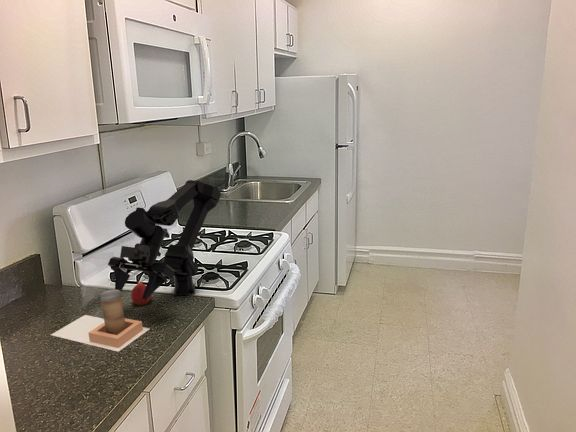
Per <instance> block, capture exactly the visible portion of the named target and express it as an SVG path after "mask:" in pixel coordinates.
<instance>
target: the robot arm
mask: <svg viewBox="0 0 576 432" xmlns="http://www.w3.org/2000/svg"><path fill="white" fill-rule="evenodd" d="M221 195H222V194H221V190H220V189H219V188H218V186H216V185H211V184H208V183H205V182H203V181H202V180H196V179H194V180H193V179H189V180H186V181H185V184H183V186H181V187H180V188H179V189H178V190H177V191H175V192H174V193H173V194H172V195H171V196H170V197H169V198H168V199H165V200H162V201H159V202H157V203H155V204H152V205H151V206H150V207H149V209H148V210H146V209H145V208H144V207H136V209H135V210H134V211H132V212H130V213H129V214H128V215H127V216H126V218H125V219H124V226H125V227H126V228H127V229H128V230H129V231H131V232H132V233H133V234H134V235H135V236H137V237H138V238H140V242H139V243H136V244H135V245H134V246H124V245H121V248H120V255H119V257H118V256H112V257H110V258H109V260H108V263H107V266H109V268H110V269H111V270H112V271H113V273H114V287H115V288H114V289H116V290H120V291H121V292H122V291H123V290H124V287H125V285H126V284H127V282H128V280H129V278H130V277H131V275H130V273H132V271H135V272H143V273H148V280H147V284H146V288H145V291H144V294H143V298H142V299H143V300H146V299H147V298H148V297H149V296H150V295H151V296H152V294H154V292H156V290H158V288H160V287H161V286H162V285H163V284H165V283H168V281H169V280H170V281H174V289H173V296H176V297H177V296H186V295H187V296H188V294H189V295H195V293H196V292H195V291H196V284H194V280H193V277H194V276H196V275H197V273H198V272H199V264H198V263H196V262H195V261H194V259H195V258H194V257H195V256H194V252H193V248H194V246H195V243H196V241H197V239H198V237H199V233H200V231H201V229H202V227H203V225H204V221H206V218H207V215H208V213H209V212H210V211H211V210H213V209H214V208H215V207H217V204H218V203H219V201H220V198H221ZM191 200H192V202H193V203H192V204H193V207H192V209H191V212H190V214H189V216H188V219H187V220H186V223H185V225H184V227H183V230H182V232H181V235H180V236H179V239H178V241H177V242H176V243H174V244H172V243H171V244H169V245H168V246H167V247H168V248H167V250H166V252H165V253H164V258H163V262H159V261H158V262H157V261H156V260H157V257H161V255H162V253H161V252H160V250H161V247H162V244H163V242H164V240H165V239H166V238H167V239H169V238H170V234H169V232H168V229H167V228H163V227H162V226H167V227H168V226H169V227H171V226H173V225H174V224H175V222H176V221H177V219H178V218H179V216H180V215H179V213H180V211H181V210H182V209H183V208H185V206H186V205H188V204H189V202H191ZM125 258H126V259H125Z"/></svg>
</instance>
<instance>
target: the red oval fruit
mask: <svg viewBox="0 0 576 432" xmlns="http://www.w3.org/2000/svg"><path fill="white" fill-rule="evenodd" d="M146 286H147V284H145V283H143V281H142V280H139V281H138V282H137V284H136V285H135V286H134V287H133V288H132V289H131V293H130V298H131V300H132V302H133V304H135V305H137V306H145V305H147V304H148V303H149V301H151V299H152V294H151V295H150V296H149V297H148V298H147V299H146V300H143V299H142V298H143V294H144V291H145V288H146Z"/></svg>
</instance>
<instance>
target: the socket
mask: <svg viewBox="0 0 576 432" xmlns="http://www.w3.org/2000/svg"><path fill="white" fill-rule="evenodd" d="M125 324H126V329H125V330H124V331H122V332H121V333H119V334H118V335H114V334H109V333H106V329H105V323H103V324H101V325H99V326H98V327H96V328H95V329H93V330H92V331H90V332H89V333H88V334H89V340H90V342H95V343H99V344H104V345H109V346H113V347H118V348H119V347H121V346H122V345H123V344H125V343H126V342H127V341H129V340H130V339H131V338H133V337H134V336H135V335H137V334H138V333H139V332H141V331H142V330H143V327H144V326H143V322H142V321H141V320H137V319H131V318H126V317H125Z"/></svg>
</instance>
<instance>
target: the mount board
mask: <svg viewBox="0 0 576 432" xmlns="http://www.w3.org/2000/svg"><path fill="white" fill-rule="evenodd" d="M103 323H104V318H102V317H97V316H93V315H89V314H88V315H87V314H84V315H83V316H81V317H79V318H77V319H75V320H74V321H72V322H70V323H69V324H67V325H65V326H63V327H62V328H59V329H58V330H56V331H55V332H53V333H51V334H50V336H52V337H57V338H62V339H65V340H70V341H72V342H73V341H74V342H77V343H81V344H86V345H90V346H94V347H98V348H102V349H106V350H110V351H114V352H117V353H118V352H120V351H121V350H123V349H124V348H125V347H127V346H128V345H130V344H131V343H132V342H134V341H135V340H136V339H138V338H139V337H141V336H142V335H144V334H145V333H146V332H148V331H149V330H150V328H148V327H144V326H142V327H143V330H142V331H141V332H139V333H138V334H137V335H135V336H134V337H133V338H131V339H130V340H129V341H127V342H126V343H125V344H123V345H122V346H121V347H119V348H118V347H113V346H109V345H104V344H99V343H95V342H90V340H89V334H88V333H89V332H90V331H92V330H93V329H95V328H96V327H98V326H99V325H101V324H103Z"/></svg>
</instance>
